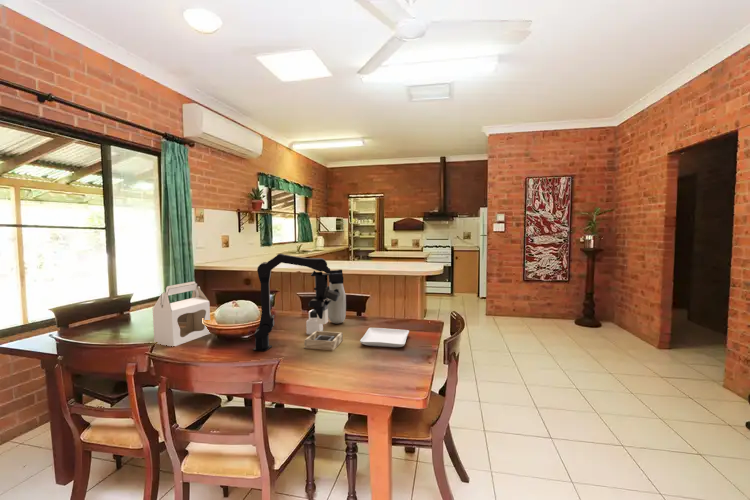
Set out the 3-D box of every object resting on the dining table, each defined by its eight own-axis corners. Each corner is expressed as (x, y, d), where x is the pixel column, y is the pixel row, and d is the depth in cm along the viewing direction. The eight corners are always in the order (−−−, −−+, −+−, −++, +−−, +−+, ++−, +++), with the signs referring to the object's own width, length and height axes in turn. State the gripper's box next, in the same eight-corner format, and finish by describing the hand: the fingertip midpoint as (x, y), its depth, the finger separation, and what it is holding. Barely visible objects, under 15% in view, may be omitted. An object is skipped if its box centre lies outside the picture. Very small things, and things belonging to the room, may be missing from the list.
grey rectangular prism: (325, 323, 163) (324, 307, 162) (317, 323, 164) (316, 306, 163) (328, 321, 167) (327, 305, 166) (320, 321, 168) (319, 304, 167)
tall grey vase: (349, 322, 203) (348, 274, 201) (338, 326, 194) (337, 276, 192) (335, 319, 208) (335, 273, 206) (324, 323, 200) (323, 275, 197)
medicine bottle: (323, 330, 187) (322, 308, 186) (319, 334, 180) (319, 312, 179) (310, 330, 188) (309, 308, 187) (306, 334, 181) (305, 311, 180)
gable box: (173, 347, 163) (169, 288, 161) (153, 343, 168) (150, 286, 166) (211, 333, 184) (209, 280, 182) (193, 330, 189) (190, 279, 187)
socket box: (333, 350, 158) (333, 341, 158) (304, 348, 161) (304, 340, 160) (342, 340, 172) (342, 332, 171) (315, 338, 174) (315, 330, 174)
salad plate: (404, 350, 158) (404, 343, 157) (359, 347, 162) (359, 340, 162) (409, 336, 178) (409, 329, 178) (369, 333, 183) (369, 327, 182)
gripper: (331, 289, 153) (332, 323, 155) (343, 281, 172) (344, 312, 173) (307, 288, 156) (308, 322, 157) (322, 281, 174) (323, 312, 175)
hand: (322, 317), depth 165 cm, fingers closed on grey rectangular prism, 4 cm apart
